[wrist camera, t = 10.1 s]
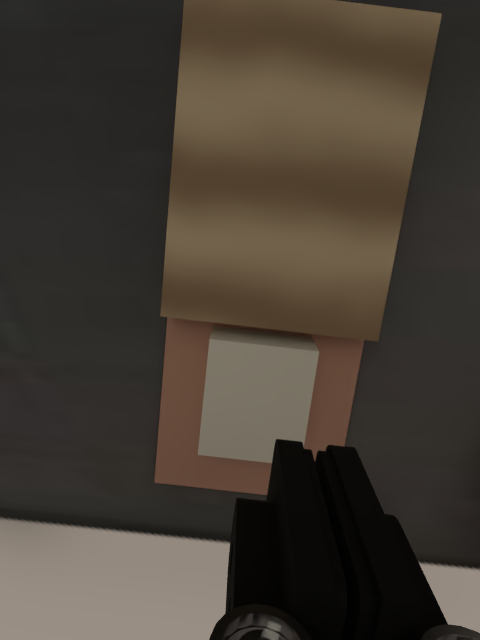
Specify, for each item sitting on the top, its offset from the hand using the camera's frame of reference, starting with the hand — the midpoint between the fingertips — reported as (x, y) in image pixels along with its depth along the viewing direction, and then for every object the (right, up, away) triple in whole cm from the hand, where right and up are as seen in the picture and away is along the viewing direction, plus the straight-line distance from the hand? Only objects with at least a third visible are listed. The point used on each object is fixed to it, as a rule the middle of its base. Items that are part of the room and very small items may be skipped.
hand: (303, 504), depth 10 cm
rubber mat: (0, -2, +19) cm, 20 cm away
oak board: (+1, +12, +16) cm, 20 cm away
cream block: (0, 0, +19) cm, 19 cm away
